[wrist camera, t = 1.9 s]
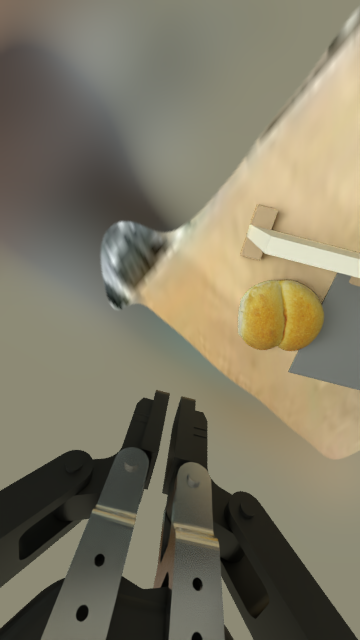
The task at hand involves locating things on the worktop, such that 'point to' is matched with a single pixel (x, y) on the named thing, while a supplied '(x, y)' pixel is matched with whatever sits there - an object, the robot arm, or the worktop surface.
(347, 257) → the screen
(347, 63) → the worktop surface
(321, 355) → the mat
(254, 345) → the bread roll
